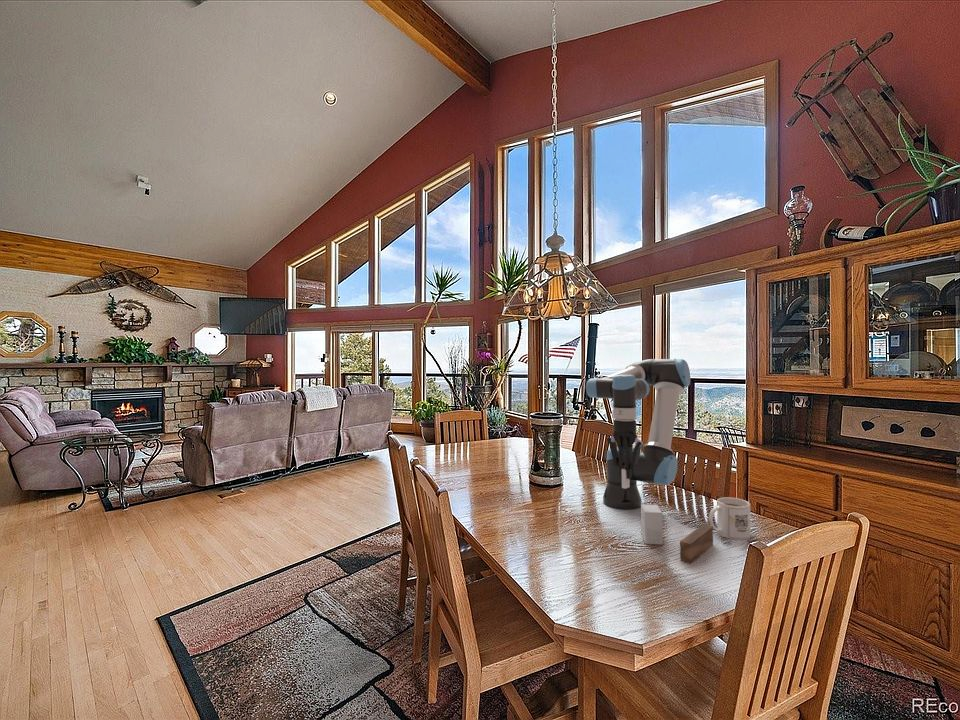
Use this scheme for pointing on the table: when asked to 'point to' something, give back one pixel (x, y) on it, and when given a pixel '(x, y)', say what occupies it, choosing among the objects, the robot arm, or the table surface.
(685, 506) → the table surface
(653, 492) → the table surface
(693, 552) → the board
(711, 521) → the mug
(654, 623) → the table surface
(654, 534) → the small box
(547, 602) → the table surface
